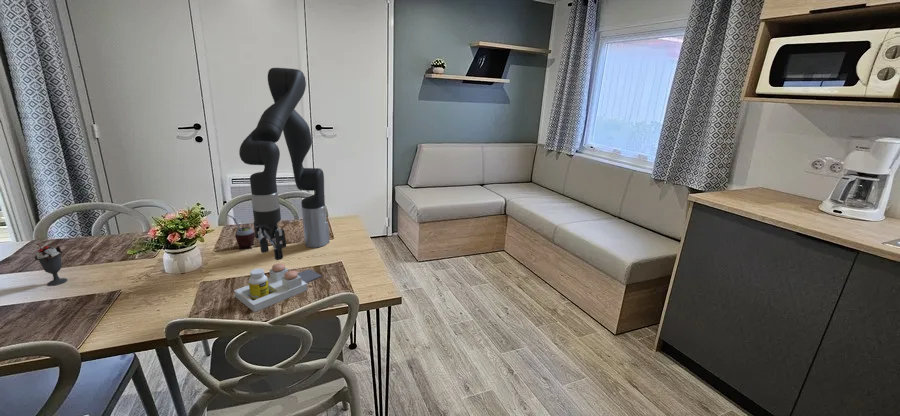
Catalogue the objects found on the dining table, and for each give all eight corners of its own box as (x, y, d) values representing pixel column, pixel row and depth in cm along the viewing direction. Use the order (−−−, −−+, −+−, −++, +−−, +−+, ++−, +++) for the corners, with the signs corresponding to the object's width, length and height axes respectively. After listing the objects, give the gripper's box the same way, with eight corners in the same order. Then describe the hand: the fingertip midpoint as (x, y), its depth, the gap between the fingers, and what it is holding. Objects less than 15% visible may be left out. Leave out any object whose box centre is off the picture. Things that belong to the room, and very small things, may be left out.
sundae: (40, 288, 127) (26, 246, 123) (48, 279, 133) (35, 239, 128) (66, 284, 130) (54, 243, 126) (73, 276, 136) (61, 236, 131)
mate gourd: (259, 246, 164) (255, 212, 160) (241, 252, 158) (236, 217, 153) (249, 242, 168) (244, 209, 163) (231, 248, 162) (225, 214, 157)
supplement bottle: (262, 303, 123) (258, 276, 120) (247, 301, 124) (243, 273, 121) (273, 295, 128) (269, 268, 125) (258, 292, 129) (254, 266, 126)
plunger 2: (294, 279, 132) (293, 269, 131) (300, 283, 130) (299, 273, 129) (283, 283, 129) (282, 273, 128) (289, 288, 127) (288, 277, 126)
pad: (309, 269, 146) (309, 268, 145) (322, 276, 141) (321, 275, 141) (289, 277, 140) (289, 276, 140) (301, 284, 135) (301, 283, 135)
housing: (287, 277, 140) (286, 263, 138) (307, 289, 132) (306, 275, 130) (235, 297, 126) (233, 282, 124) (254, 312, 118) (252, 296, 117)
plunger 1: (282, 272, 137) (281, 262, 136) (288, 275, 134) (287, 265, 133) (271, 276, 134) (269, 266, 133) (277, 279, 132) (275, 269, 130)
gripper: (290, 209, 117) (295, 258, 122) (266, 199, 125) (271, 246, 130) (266, 214, 111) (272, 266, 116) (242, 204, 120) (248, 253, 124)
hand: (271, 255), depth 123 cm, fingers open, 8 cm apart
